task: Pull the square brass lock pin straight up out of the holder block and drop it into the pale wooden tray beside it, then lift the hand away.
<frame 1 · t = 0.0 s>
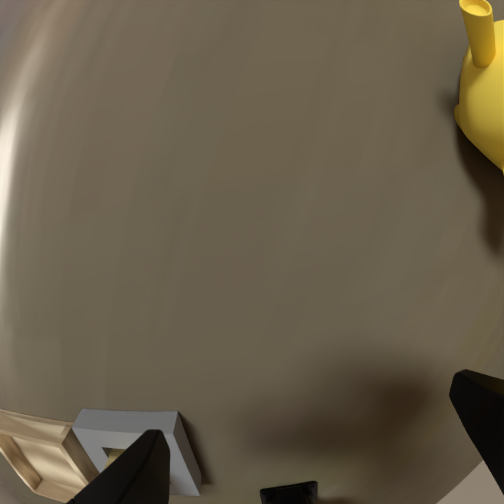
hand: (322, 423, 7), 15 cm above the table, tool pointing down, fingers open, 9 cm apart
tray: (54, 455, 25), on the table
teapot: (480, 99, 20), on the table
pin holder: (142, 446, 25), on the table
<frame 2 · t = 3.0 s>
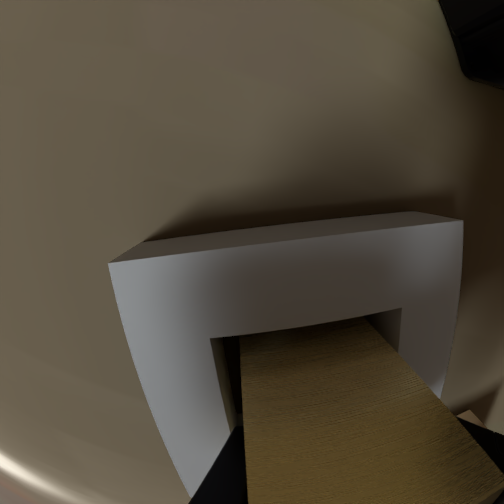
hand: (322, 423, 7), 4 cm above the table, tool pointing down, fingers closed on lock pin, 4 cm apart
lock pin: (326, 433, 7), in the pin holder, touching gripper
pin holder: (296, 354, 11), on the table
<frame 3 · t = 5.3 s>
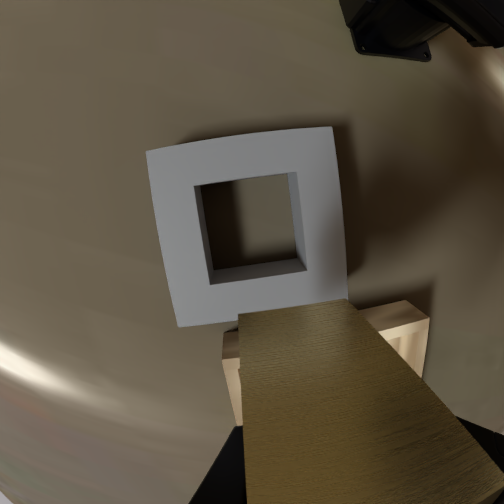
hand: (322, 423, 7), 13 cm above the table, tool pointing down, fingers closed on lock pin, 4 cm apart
tray: (323, 392, 22), on the table
lock pin: (326, 433, 7), point 13 cm above the table, touching gripper
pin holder: (249, 222, 19), on the table
when the fingers open (6 cm above the table, at t = 7.7 s): lock pin drops 1 cm, resting on tray.
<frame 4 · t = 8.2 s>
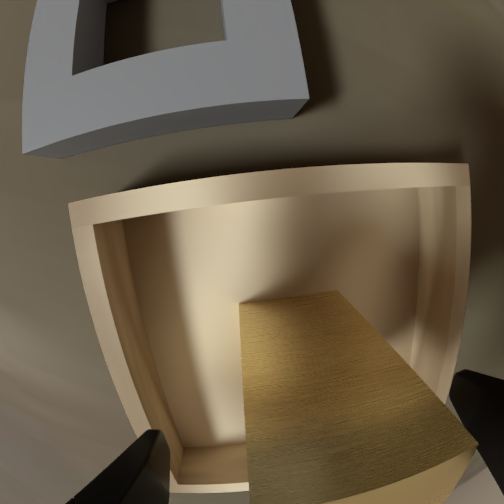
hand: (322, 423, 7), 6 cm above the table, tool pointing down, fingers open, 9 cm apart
tray: (288, 332, 13), on the table
lock pin: (317, 408, 8), in the tray, point 5 cm above the table
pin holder: (160, 30, 10), on the table
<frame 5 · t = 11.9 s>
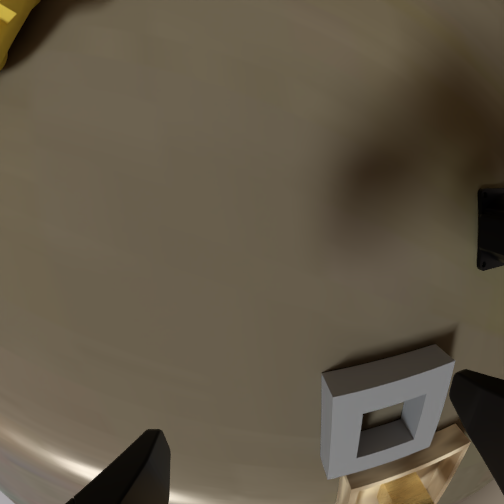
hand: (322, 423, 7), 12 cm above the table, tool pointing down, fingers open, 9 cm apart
tray: (392, 479, 25), on the table
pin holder: (377, 406, 22), on the table
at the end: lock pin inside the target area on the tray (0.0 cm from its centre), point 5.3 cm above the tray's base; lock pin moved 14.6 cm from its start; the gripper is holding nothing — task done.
